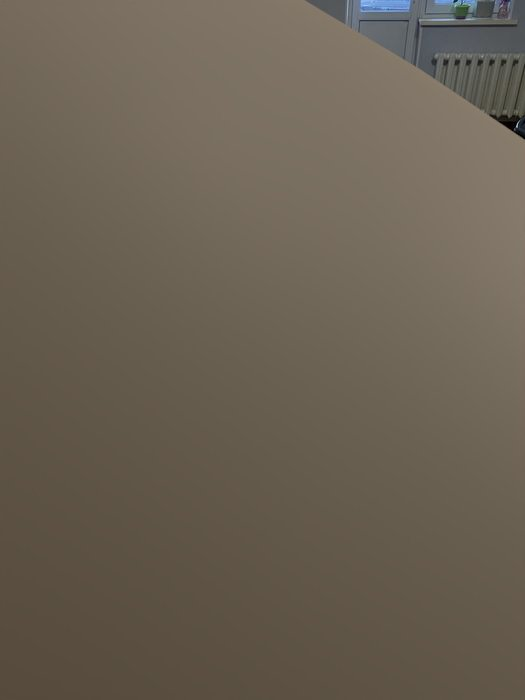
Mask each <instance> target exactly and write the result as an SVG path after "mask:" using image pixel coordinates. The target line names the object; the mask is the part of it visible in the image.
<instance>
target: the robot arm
mask: <svg viewBox="0 0 525 700" xmlns="http://www.w3.org/2000/svg"><path fill="white" fill-rule="evenodd" d="M0 700H525V139H524V138H523V137H522V136H520V135H518V134H517V133H516V132H514V131H512V129H509V128H508V127H507V126H506V125H504V124H502V123H500V122H499V121H498V120H497V119H495V118H493V117H492V116H490V115H489V114H487V113H486V112H485V111H483V110H481V109H480V108H478V107H477V106H476V105H474V104H472V103H471V102H469V101H468V100H467V99H465V98H464V97H462V96H461V95H459V94H458V93H457V92H455V91H453V90H452V89H450V88H449V87H447V86H446V85H444V84H443V83H441V82H440V81H438V80H437V79H435V78H434V77H432V76H431V75H430V74H428V73H426V72H425V71H423V70H422V69H420V68H419V67H417V66H416V65H414V64H412V63H411V62H409V61H407V60H405V58H402V57H400V56H399V55H397V54H396V53H394V52H392V51H390V50H389V49H387V48H385V47H384V46H382V45H381V44H379V43H377V42H375V41H374V40H372V39H370V38H369V37H367V36H366V35H363V34H362V33H360V32H359V31H357V30H355V29H354V28H352V27H350V26H349V25H347V24H345V23H344V22H342V21H341V20H339V19H337V18H335V17H333V16H332V15H330V14H328V13H327V12H325V11H323V10H322V9H320V8H318V7H316V6H315V5H314V4H312V3H311V2H308V1H307V0H0Z"/></svg>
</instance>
